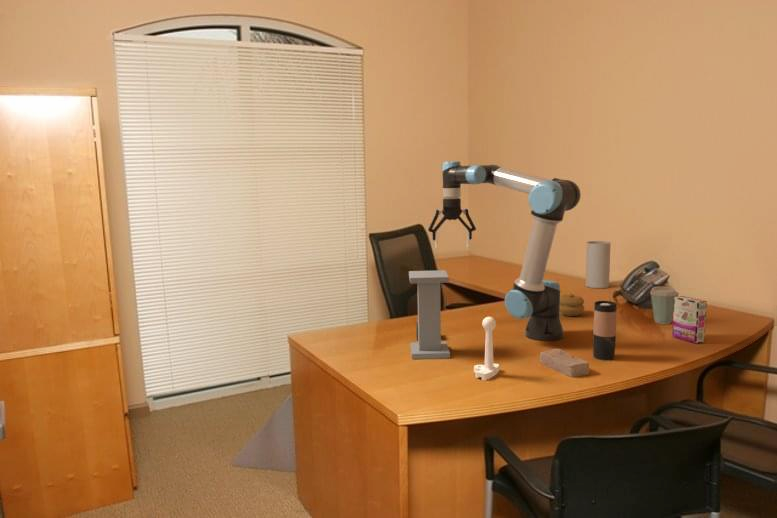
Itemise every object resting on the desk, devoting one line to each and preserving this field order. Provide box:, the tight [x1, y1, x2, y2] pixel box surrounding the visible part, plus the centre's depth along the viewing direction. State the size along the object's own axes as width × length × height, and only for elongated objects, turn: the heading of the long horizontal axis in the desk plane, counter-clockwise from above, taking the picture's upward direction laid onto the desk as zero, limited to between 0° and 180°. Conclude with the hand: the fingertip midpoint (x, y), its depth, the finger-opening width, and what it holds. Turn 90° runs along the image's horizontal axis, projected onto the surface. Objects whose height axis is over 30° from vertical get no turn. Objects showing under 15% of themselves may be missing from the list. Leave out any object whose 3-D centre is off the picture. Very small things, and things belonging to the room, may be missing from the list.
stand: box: [408, 269, 451, 360], centre depth 221 cm, size 16×14×30 cm
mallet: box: [415, 321, 418, 342], centre depth 249 cm, size 23×8×6 cm, turn 0°
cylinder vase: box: [585, 240, 612, 290], centre depth 329 cm, size 12×12×25 cm
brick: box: [539, 348, 591, 378], centre depth 202 cm, size 17×8×5 cm, turn 24°
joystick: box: [473, 316, 500, 381], centre depth 197 cm, size 11×8×20 cm
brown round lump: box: [559, 293, 585, 317], centre depth 271 cm, size 12×12×10 cm
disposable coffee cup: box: [649, 285, 678, 325], centre depth 254 cm, size 11×11×15 cm
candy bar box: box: [671, 295, 708, 345], centre depth 229 cm, size 11×5×16 cm, turn 23°
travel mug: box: [592, 300, 618, 361], centre depth 211 cm, size 8×8×20 cm
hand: (452, 247), depth 253 cm, fingers open, 13 cm apart
